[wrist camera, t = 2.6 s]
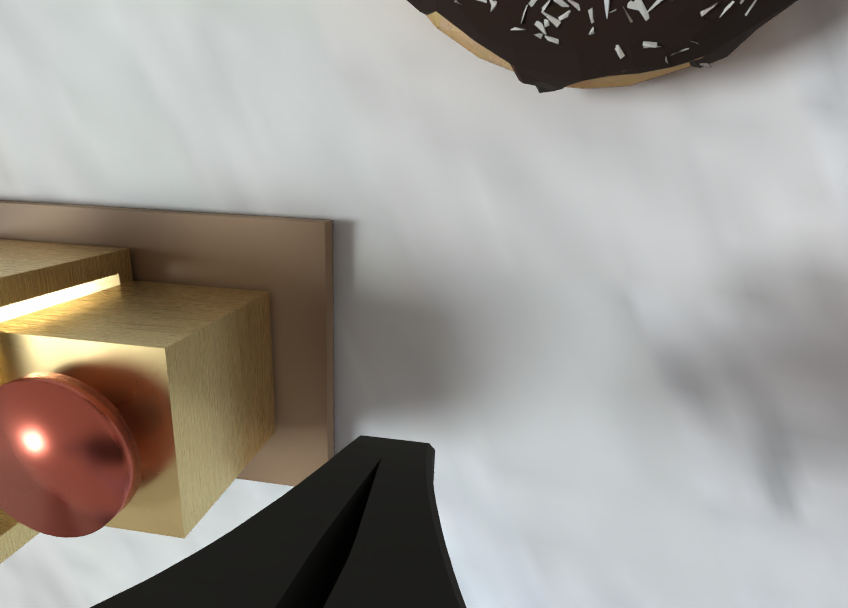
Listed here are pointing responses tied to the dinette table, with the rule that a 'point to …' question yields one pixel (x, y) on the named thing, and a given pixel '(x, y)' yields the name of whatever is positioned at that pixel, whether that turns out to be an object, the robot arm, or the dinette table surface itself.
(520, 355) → the dinette table surface
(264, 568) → the robot arm
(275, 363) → the knob block baseplate
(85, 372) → the tan boxy piece
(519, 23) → the donut
